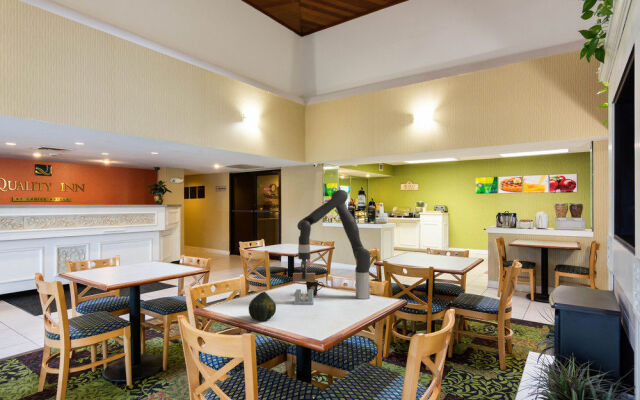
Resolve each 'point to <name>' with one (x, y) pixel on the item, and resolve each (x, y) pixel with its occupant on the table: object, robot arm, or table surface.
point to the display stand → (303, 300)
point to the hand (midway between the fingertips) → (304, 278)
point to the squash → (262, 307)
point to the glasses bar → (298, 278)
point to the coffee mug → (313, 287)
